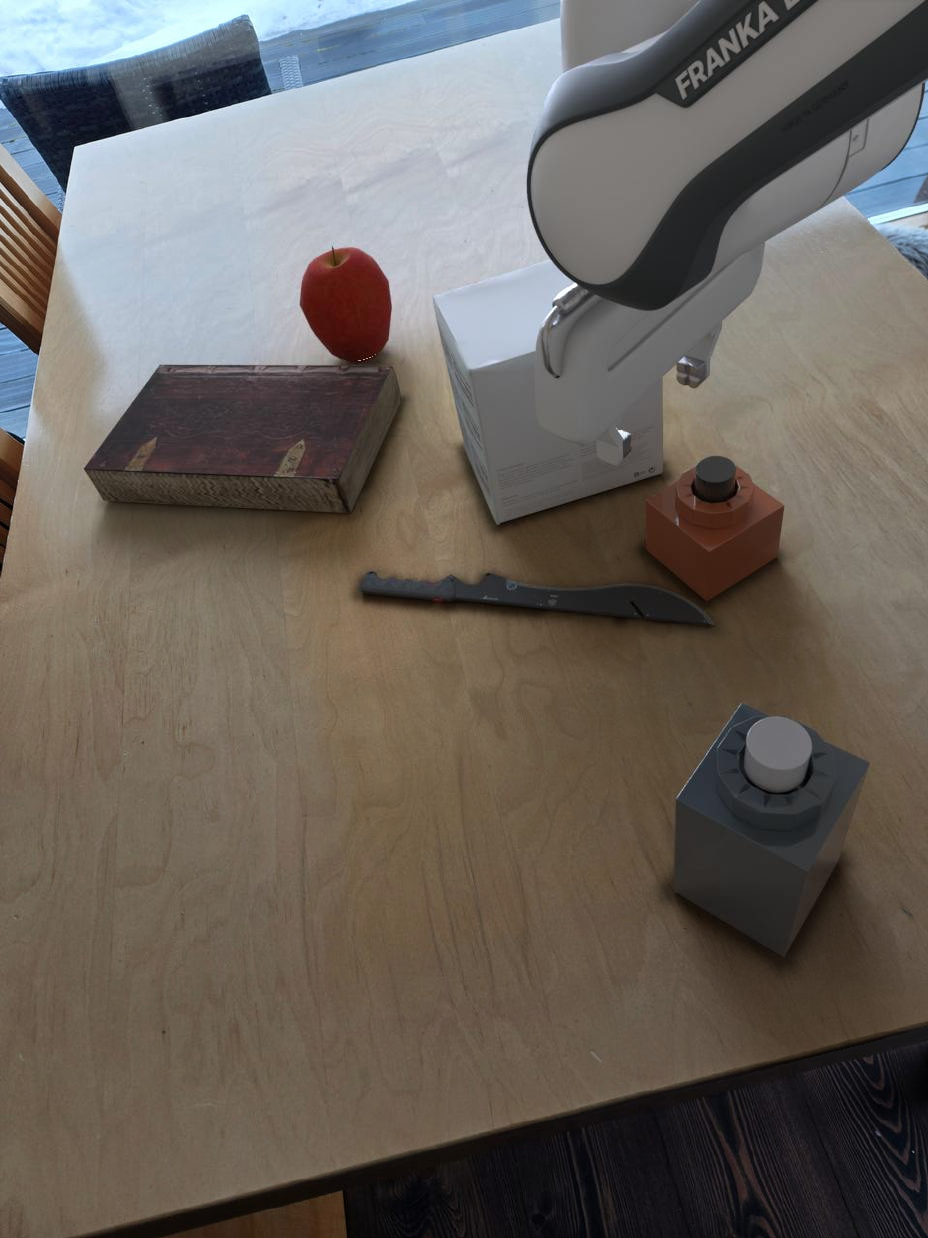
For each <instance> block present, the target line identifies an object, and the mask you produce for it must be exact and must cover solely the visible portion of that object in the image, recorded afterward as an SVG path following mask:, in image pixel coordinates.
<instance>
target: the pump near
mask: <svg viewBox="0 0 928 1238" xmlns="http://www.w3.org/2000/svg"><path fill="white" fill-rule="evenodd" d="M784 717H785V716H779V717H768V718H764V719H762V720H760V721H758V722H757V723H755V724H754V725H753V726H752V727H751V728H750V730H749V732H748V734H747V738H746V746H745V754H744V770H745V773H746V775H747V776H748V778H749V779H750V780H751V782H753V783H754V784H755V785H756V786H757V787H759V788H761V789H763V790H766V791H769V792H774V793H783V792H788V791H791V790H793V789H795V788H797V787H798V786H799V785H800V784H801V783H802V782H803V781H804V779H805V777H806V774H807V769H808V765H809V761H810V756H811V752H812V741H811V738H810V736H809V734H808V733H807V731H806V730H805V729H804V728H803V727H802V726H801V725H800V724H798V723H797V722H798V721H797V722H795V721H796V720H795V721H793V720H794V719H793V720H791V719H792V718H791V719H788V718H784Z"/></svg>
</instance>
